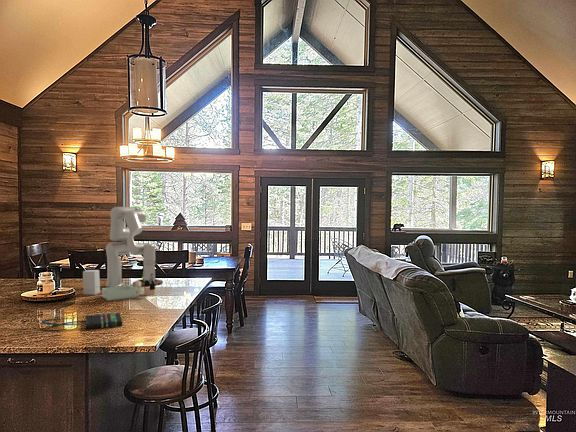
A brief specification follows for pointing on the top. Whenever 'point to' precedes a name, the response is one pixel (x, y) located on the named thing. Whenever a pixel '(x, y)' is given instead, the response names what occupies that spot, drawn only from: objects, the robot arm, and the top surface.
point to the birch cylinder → (137, 286)
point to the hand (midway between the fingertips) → (149, 288)
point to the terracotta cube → (148, 291)
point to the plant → (157, 282)
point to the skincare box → (91, 282)
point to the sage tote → (118, 292)
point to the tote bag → (92, 321)
